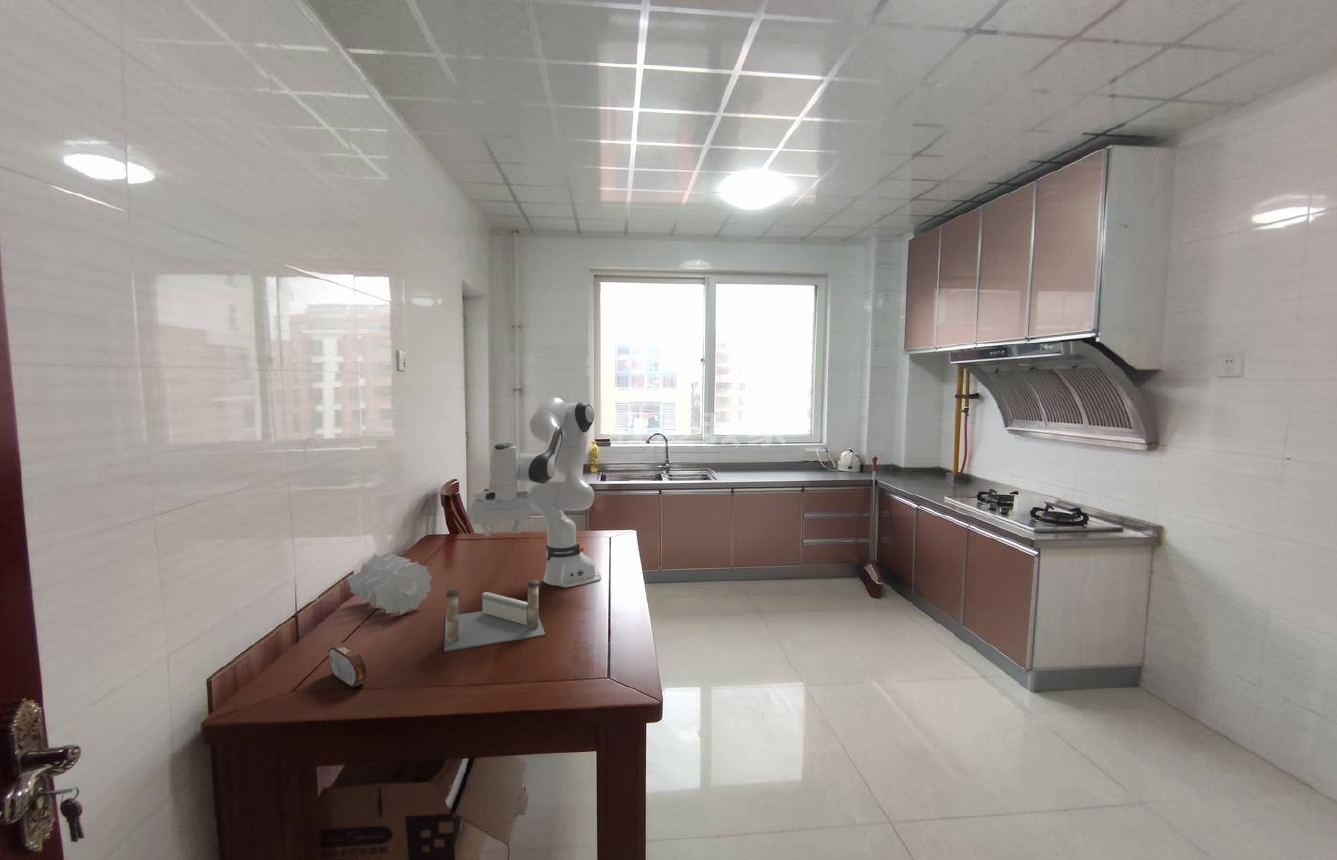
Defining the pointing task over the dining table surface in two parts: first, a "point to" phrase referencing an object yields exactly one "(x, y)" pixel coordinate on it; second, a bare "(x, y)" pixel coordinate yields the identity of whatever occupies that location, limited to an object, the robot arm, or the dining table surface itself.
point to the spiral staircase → (391, 583)
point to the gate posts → (453, 610)
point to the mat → (488, 631)
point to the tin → (347, 665)
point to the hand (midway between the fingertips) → (501, 534)
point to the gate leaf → (505, 607)
